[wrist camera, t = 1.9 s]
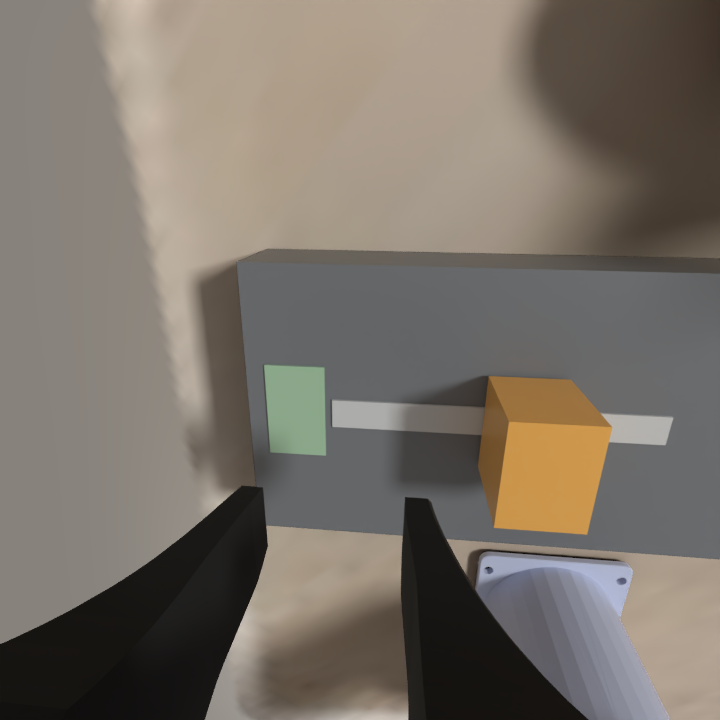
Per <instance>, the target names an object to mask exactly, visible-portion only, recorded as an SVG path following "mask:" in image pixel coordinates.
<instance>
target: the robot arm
mask: <svg viewBox="0 0 720 720" xmlns="http://www.w3.org/2000/svg"><path fill="white" fill-rule="evenodd" d="M267 547H268V543H267V530H266V518H265V505H264V493H263V487H250V486H241V487H240V488H239V489H238V490H236V491H235V492H234V493H233V494H232V495H231V496H229V497H228V498H227V499H226V500H225V501H224V502H223V503H221V504H220V505H219V506H218V507H217V508H216V509H215V510H214V511H212V512H211V513H210V514H209V515H208V516H207V517H205V518H204V519H203V520H202V521H201V522H200V523H198V524H197V525H196V526H195V527H194V528H192V529H191V530H190V531H189V532H188V533H187V534H185V535H184V536H183V537H182V538H180V539H179V540H178V541H176V542H175V543H174V544H172V545H171V546H170V547H169V548H167V549H166V550H165V551H163V552H162V553H161V554H160V555H158V556H157V557H156V558H154V559H153V560H151V561H150V562H149V563H147V564H146V565H144V566H143V567H141V568H140V569H138V570H137V571H136V572H134V573H132V574H131V575H129V576H128V577H126V578H125V579H123V580H122V581H120V582H118V583H117V584H115V585H114V586H112V587H110V588H109V589H107V590H105V591H103V592H102V593H100V594H98V595H97V596H95V597H93V598H91V599H90V600H88V601H86V602H84V603H83V604H81V605H79V606H77V607H76V608H74V609H72V610H70V611H68V612H66V613H64V614H63V615H61V616H59V617H57V618H55V619H53V620H51V621H49V622H47V623H45V624H43V625H41V626H39V627H37V628H34V629H32V630H31V631H28V632H26V633H24V634H22V635H20V636H18V637H16V638H13V639H11V640H9V641H7V642H4V643H2V644H0V720H204V719H205V717H206V714H207V710H208V707H209V704H210V701H211V698H212V695H213V692H214V689H215V685H216V682H217V680H218V677H219V674H220V672H221V669H222V666H223V664H224V661H225V659H226V657H227V654H228V652H229V649H230V647H231V645H232V642H233V640H234V638H235V635H236V633H237V630H238V628H239V626H240V623H241V621H242V619H243V616H244V614H245V611H246V609H247V607H248V604H249V602H250V599H251V597H252V594H253V592H254V590H255V587H256V585H257V582H258V579H259V575H260V572H261V569H262V565H263V562H264V558H265V554H266V551H267ZM486 567H491V568H488V569H486ZM632 575H633V571H632V569H631V567H630V566H629V564H627V563H626V562H619V561H606V560H593V559H580V558H567V557H554V556H541V555H528V554H515V553H502V552H484V553H482V554H481V555H480V557H479V563H478V571H477V578H476V586H475V589H474V587H473V586H472V584H471V582H470V581H469V579H468V577H467V576H466V574H465V573H464V571H463V569H462V567H461V566H460V564H459V562H458V560H457V559H456V557H455V555H454V553H453V551H452V549H451V547H450V546H449V544H448V542H447V540H446V538H445V536H444V533H443V531H442V529H441V527H440V525H439V522H438V520H437V517H436V515H435V512H434V509H433V506H432V502H431V501H430V500H429V499H427V498H413V497H405V505H404V524H403V542H402V567H401V601H402V615H403V628H404V641H405V654H406V667H407V680H408V702H409V718H408V720H670V718H669V716H668V714H667V712H666V710H665V708H664V706H663V704H662V702H661V700H660V698H659V696H658V694H657V692H656V690H655V688H654V686H653V684H652V682H651V680H650V678H649V676H648V674H647V672H646V670H645V668H644V666H643V664H642V662H641V660H640V658H639V656H638V654H637V652H636V650H635V648H634V646H633V644H632V642H631V640H630V638H629V636H628V634H627V632H626V630H625V628H624V626H623V624H622V622H621V620H620V616H621V613H622V610H623V606H624V603H625V599H626V596H627V592H628V589H629V586H630V582H631V579H632ZM618 578H620V579H618Z"/></svg>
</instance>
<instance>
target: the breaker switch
mask: <svg viewBox="0 0 720 720" xmlns="http://www.w3.org/2000/svg"><path fill="white" fill-rule="evenodd" d="M611 431H612V426H611V425H610V424H609V423H608V422H607V420H606V419H605V418H604V417H603V416H602V415H601V414H600V412H599V411H598V410H597V409H596V408H595V407H594V406H593V404H592V403H591V402H590V401H589V400H588V399H587V397H586V396H585V395H584V394H583V393H582V392H581V391H580V389H579V388H578V387H577V386H576V385H575V384H574V383H573V381H572V380H567V379H544V378H522V377H499V376H489V377H488V386H487V394H486V402H485V411H484V419H483V428H482V436H481V444H480V453H479V461H478V469H479V473H480V476H481V480H482V484H483V488H484V492H485V496H486V499H487V503H488V507H489V511H490V515H491V519H492V522H493V526H494V528H503V529H516V530H530V531H544V532H558V533H572V534H585V535H587V533H588V529H589V525H590V520H591V516H592V512H593V508H594V503H595V499H596V495H597V491H598V486H599V482H600V478H601V474H602V469H603V465H604V461H605V457H606V452H607V448H608V444H609V439H610V435H611Z"/></svg>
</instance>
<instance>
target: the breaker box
mask: <svg viewBox="0 0 720 720" xmlns="http://www.w3.org/2000/svg"><path fill="white" fill-rule="evenodd" d="M236 263H237V274H238V286H239V297H240V309H241V320H242V332H243V343H244V355H245V366H246V378H247V389H248V401H249V412H250V424H251V435H252V447H253V458H254V470H255V481H256V487H263V493H264V505H265V518H266V525H269V526H283V527H296V528H309V529H323V530H336V531H349V532H363V533H376V534H389V535H402V536H403V524H404V505H405V497H413V498H427V499H429V500H430V501H431V502H432V506H433V509H434V512H435V515H436V517H437V520H438V522H439V525H440V527H441V529H442V531H443V533H444V536H445V538H446V539H456V540H469V541H482V542H496V543H509V544H522V545H535V546H549V547H562V548H575V549H589V550H602V551H615V552H629V553H642V554H655V555H668V556H682V557H695V558H708V559H720V259H719V258H673V257H626V256H580V255H533V254H486V253H440V252H393V251H347V250H300V249H266V250H264V251H261V252H259V253H256V254H254V255H252V256H249V257H247V258H245V259H242V260H240V261H238V262H236ZM489 376H499V377H522V378H544V379H567V380H572V381H573V383H574V384H575V385H576V386H577V387H578V388H579V389H580V391H581V392H582V393H583V394H584V395H585V396H586V397H587V399H588V400H589V401H590V402H591V403H592V404H593V406H594V407H595V408H596V409H597V410H598V411H599V412H600V414H601V415H602V416H603V417H604V418H605V419H606V420H607V422H608V423H609V424H610V425H611V426H612V431H611V435H610V439H609V444H608V448H607V452H606V457H605V461H604V465H603V469H602V474H601V478H600V482H599V486H598V491H597V495H596V499H595V503H594V508H593V512H592V516H591V520H590V525H589V529H588V533H587V535H585V534H572V533H558V532H544V531H530V530H516V529H503V528H494V526H493V522H492V519H491V515H490V511H489V507H488V503H487V499H486V496H485V492H484V488H483V484H482V480H481V476H480V473H479V469H478V461H479V453H480V444H481V436H482V428H483V419H484V411H485V402H486V394H487V386H488V377H489Z"/></svg>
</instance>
